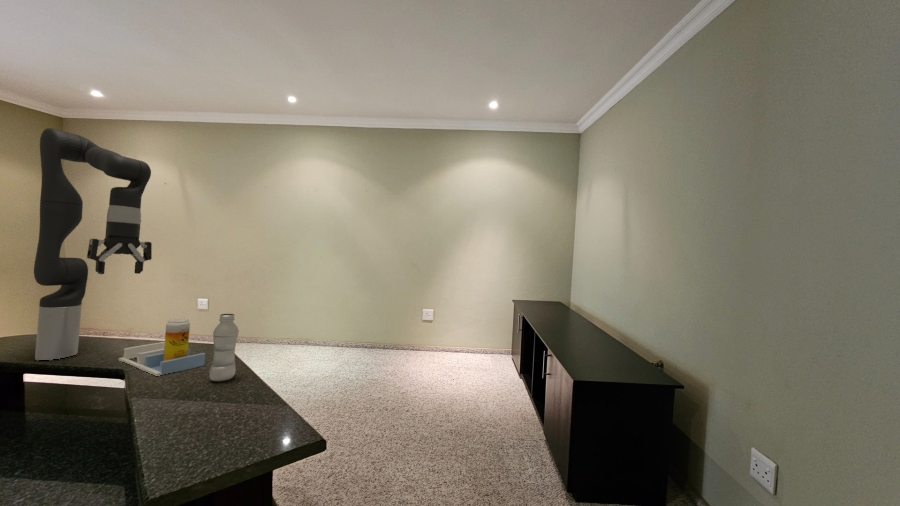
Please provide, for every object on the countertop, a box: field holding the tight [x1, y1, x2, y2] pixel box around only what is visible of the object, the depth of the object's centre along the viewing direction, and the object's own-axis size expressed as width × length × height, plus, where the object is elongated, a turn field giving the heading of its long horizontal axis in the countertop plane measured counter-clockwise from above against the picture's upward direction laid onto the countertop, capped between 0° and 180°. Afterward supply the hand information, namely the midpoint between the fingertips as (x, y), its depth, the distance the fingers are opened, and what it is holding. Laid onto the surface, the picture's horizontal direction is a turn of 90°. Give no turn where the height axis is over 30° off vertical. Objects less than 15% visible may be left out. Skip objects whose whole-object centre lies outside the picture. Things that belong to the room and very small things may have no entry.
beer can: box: [163, 318, 191, 361], centre depth 109 cm, size 6×6×15 cm
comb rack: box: [118, 341, 206, 377], centre depth 111 cm, size 24×13×4 cm, turn 65°
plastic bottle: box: [208, 312, 240, 382], centre depth 101 cm, size 6×7×20 cm
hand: (119, 273), depth 103 cm, fingers open, 8 cm apart
